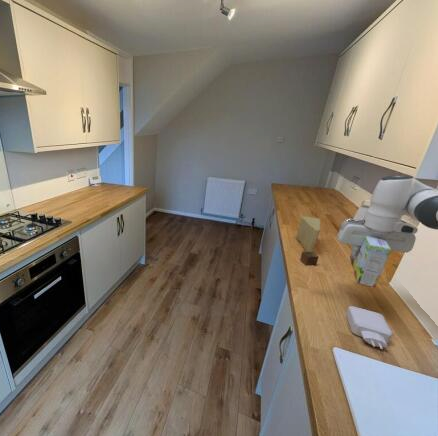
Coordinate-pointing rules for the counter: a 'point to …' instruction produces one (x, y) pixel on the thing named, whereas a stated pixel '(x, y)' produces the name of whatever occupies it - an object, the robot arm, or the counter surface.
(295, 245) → the counter surface
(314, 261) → the walnut block
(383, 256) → the snack box
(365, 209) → the grater
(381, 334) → the charger
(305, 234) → the cheese
